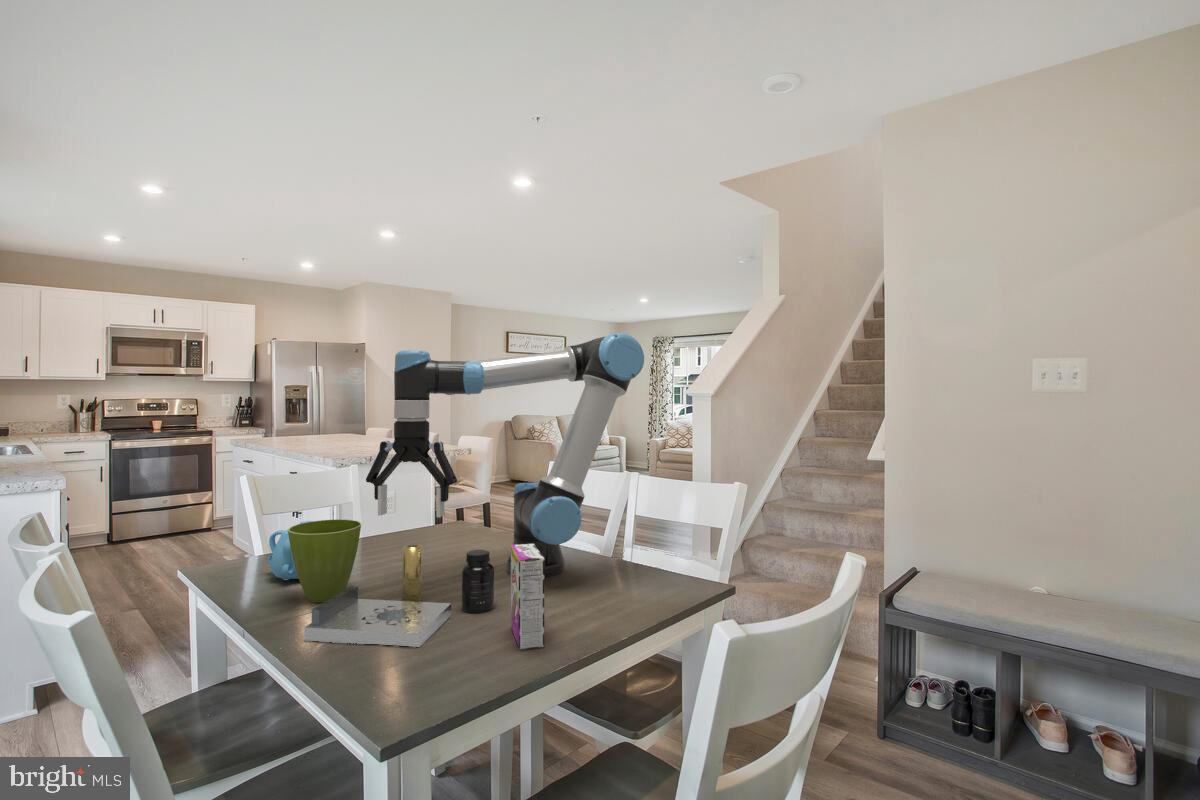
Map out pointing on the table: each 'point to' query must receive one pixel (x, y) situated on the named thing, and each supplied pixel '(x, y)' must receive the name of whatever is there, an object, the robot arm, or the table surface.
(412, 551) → the cylinder
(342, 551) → the flower pot
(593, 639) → the table surface
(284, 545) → the decorative pot
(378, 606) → the plate
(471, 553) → the supplement bottle
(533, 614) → the candy bar box
